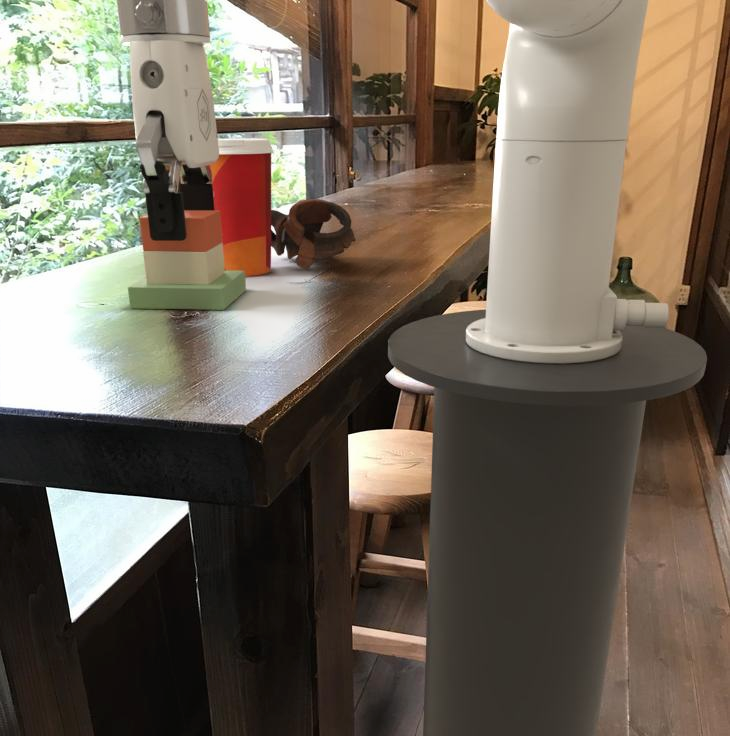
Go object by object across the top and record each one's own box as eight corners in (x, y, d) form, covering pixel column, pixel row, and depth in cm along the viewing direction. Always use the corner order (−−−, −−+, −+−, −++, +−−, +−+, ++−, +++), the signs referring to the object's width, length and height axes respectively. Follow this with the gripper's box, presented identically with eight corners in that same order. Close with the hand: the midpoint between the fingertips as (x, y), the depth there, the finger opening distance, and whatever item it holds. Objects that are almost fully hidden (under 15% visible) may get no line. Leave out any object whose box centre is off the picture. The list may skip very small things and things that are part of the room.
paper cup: (240, 263, 97) (231, 137, 91) (293, 269, 94) (287, 138, 88) (197, 274, 91) (185, 139, 85) (252, 280, 88) (243, 140, 82)
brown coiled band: (354, 259, 102) (365, 204, 96) (337, 307, 97) (348, 251, 90) (262, 233, 102) (268, 176, 96) (240, 279, 96) (244, 221, 90)
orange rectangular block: (222, 242, 80) (220, 210, 78) (206, 251, 74) (203, 217, 73) (163, 241, 80) (160, 210, 79) (143, 251, 75) (138, 217, 73)
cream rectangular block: (224, 273, 81) (222, 242, 80) (208, 284, 75) (205, 252, 74) (166, 272, 81) (163, 241, 80) (146, 284, 76) (142, 251, 75)
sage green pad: (246, 290, 83) (244, 270, 82) (223, 310, 75) (222, 288, 74) (161, 289, 84) (159, 269, 83) (130, 308, 76) (127, 287, 75)
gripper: (176, 14, 61) (197, 247, 68) (232, 33, 77) (245, 221, 84) (81, 16, 62) (112, 246, 69) (155, 35, 77) (175, 221, 85)
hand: (185, 232), depth 77 cm, fingers open, 9 cm apart
